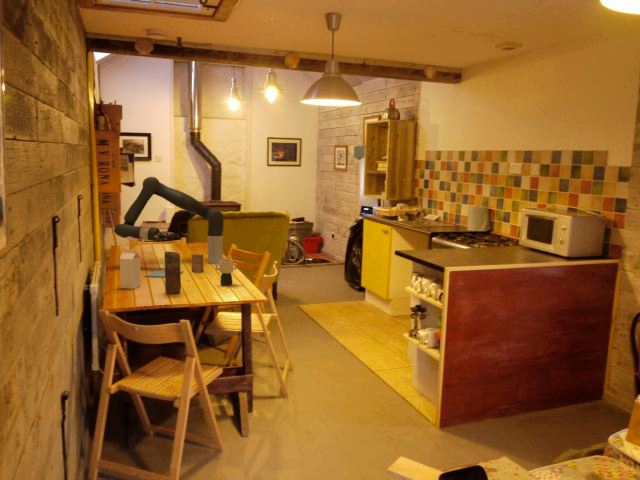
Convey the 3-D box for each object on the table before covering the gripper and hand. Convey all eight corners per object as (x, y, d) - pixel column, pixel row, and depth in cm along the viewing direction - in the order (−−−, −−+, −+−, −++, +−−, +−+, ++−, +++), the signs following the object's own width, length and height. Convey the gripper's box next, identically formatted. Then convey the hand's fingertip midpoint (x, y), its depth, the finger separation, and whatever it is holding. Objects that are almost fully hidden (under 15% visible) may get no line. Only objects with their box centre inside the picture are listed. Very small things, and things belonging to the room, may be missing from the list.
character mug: (236, 282, 285) (235, 258, 283) (237, 285, 278) (237, 261, 276) (215, 283, 282) (214, 259, 280) (216, 286, 275) (216, 261, 273)
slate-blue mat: (157, 270, 310) (157, 269, 310) (183, 272, 308) (183, 270, 308) (144, 276, 295) (144, 275, 295) (172, 278, 292) (172, 276, 292)
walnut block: (195, 270, 313) (194, 253, 311) (203, 271, 312) (203, 254, 311) (191, 272, 308) (191, 255, 306) (200, 272, 307) (199, 255, 306)
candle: (167, 290, 266) (166, 250, 263) (182, 290, 266) (181, 250, 263) (163, 294, 258) (162, 253, 255) (179, 294, 259) (178, 253, 256)
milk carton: (133, 289, 268) (132, 251, 265) (120, 288, 269) (119, 250, 266) (141, 285, 274) (139, 249, 272) (128, 284, 276) (127, 248, 273)
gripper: (144, 228, 303) (172, 231, 301) (155, 226, 317) (181, 228, 315) (144, 241, 304) (171, 244, 302) (154, 238, 318) (181, 241, 316)
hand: (176, 236), depth 309 cm, fingers open, 8 cm apart
